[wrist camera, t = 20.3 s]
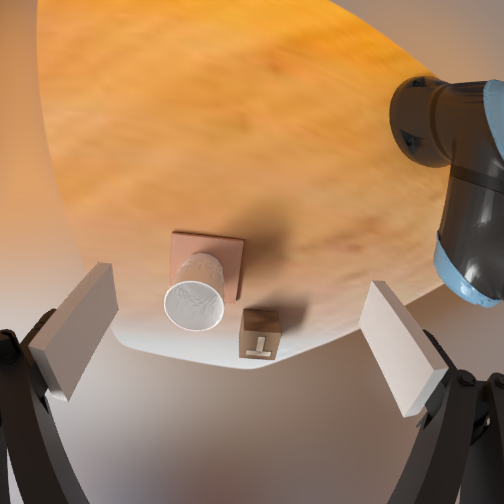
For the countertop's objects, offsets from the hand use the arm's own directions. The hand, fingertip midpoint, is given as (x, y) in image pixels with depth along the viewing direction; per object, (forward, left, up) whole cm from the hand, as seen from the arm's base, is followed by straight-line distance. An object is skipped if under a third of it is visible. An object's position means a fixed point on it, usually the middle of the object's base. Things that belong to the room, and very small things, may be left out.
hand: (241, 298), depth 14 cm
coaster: (+4, +14, -30) cm, 33 cm away
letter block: (-6, +24, -30) cm, 39 cm away
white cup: (+4, +14, -29) cm, 33 cm away
